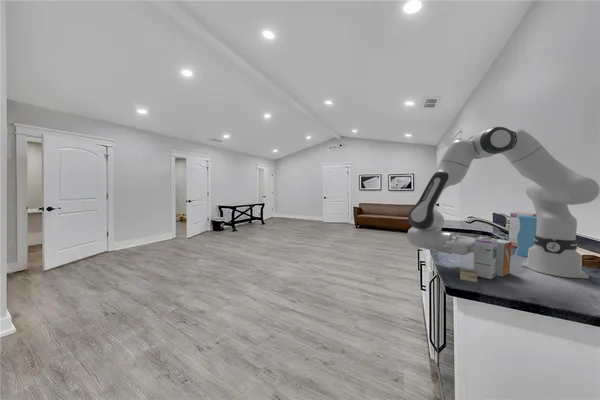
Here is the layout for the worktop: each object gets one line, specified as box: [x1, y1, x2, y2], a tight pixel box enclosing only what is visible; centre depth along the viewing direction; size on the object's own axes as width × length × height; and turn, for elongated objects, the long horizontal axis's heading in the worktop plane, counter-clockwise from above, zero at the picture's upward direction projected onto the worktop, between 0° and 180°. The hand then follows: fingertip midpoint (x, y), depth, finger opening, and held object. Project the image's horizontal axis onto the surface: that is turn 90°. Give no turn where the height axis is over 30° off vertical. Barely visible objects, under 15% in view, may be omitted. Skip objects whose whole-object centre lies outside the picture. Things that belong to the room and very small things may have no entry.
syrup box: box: [472, 236, 498, 280], centre depth 90 cm, size 6×6×14 cm
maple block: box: [459, 267, 479, 283], centre depth 88 cm, size 5×5×3 cm
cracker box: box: [508, 211, 537, 249], centre depth 137 cm, size 14×6×21 cm, turn 179°
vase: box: [515, 216, 537, 258], centre depth 122 cm, size 8×8×20 cm
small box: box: [495, 238, 513, 277], centre depth 94 cm, size 8×6×13 cm
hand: (488, 249), depth 89 cm, fingers closed on syrup box, 6 cm apart
